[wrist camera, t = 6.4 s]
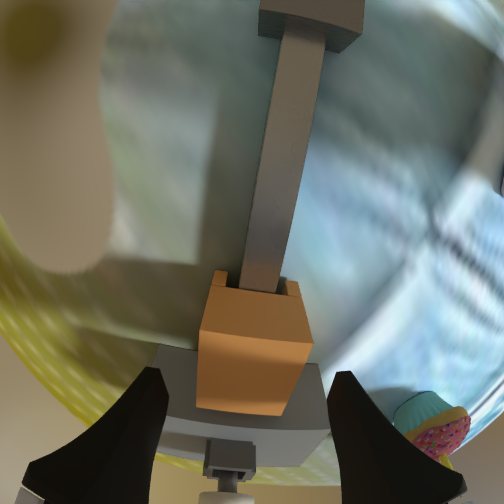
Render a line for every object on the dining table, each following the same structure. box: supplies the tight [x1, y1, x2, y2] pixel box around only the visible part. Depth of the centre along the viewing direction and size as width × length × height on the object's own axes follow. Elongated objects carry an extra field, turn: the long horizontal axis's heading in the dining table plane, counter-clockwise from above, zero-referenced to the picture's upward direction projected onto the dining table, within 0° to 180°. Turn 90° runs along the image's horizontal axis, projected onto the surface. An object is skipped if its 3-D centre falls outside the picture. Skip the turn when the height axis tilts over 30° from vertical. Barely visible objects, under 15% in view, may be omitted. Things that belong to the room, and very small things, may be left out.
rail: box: [238, 0, 365, 294], centre depth 11 cm, size 20×4×3 cm, turn 170°
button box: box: [151, 344, 331, 482], centre depth 14 cm, size 6×10×7 cm, turn 80°
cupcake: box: [394, 391, 471, 498], centre depth 14 cm, size 9×8×12 cm
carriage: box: [196, 270, 314, 416], centre depth 12 cm, size 5×4×4 cm
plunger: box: [198, 470, 254, 504], centre depth 10 cm, size 3×3×3 cm
